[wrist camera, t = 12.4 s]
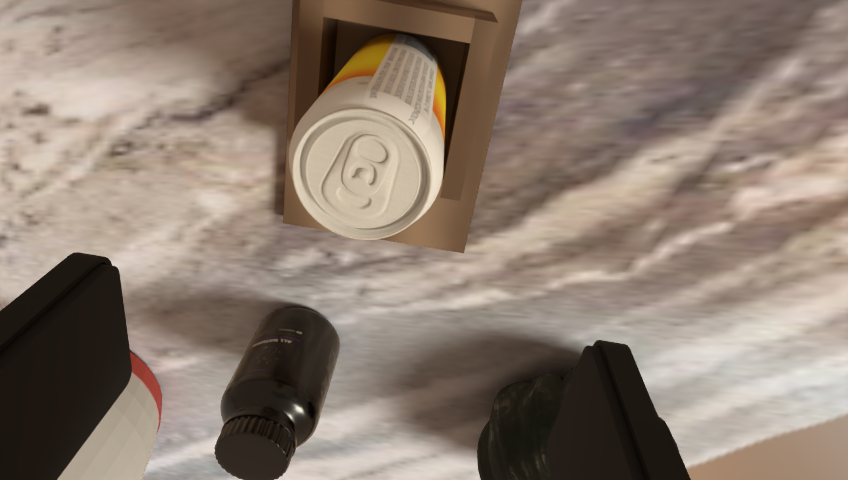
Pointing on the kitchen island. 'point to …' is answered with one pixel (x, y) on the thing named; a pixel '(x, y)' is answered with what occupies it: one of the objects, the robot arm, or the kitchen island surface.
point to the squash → (522, 429)
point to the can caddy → (465, 89)
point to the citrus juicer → (122, 433)
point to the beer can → (374, 141)
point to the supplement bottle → (276, 393)
